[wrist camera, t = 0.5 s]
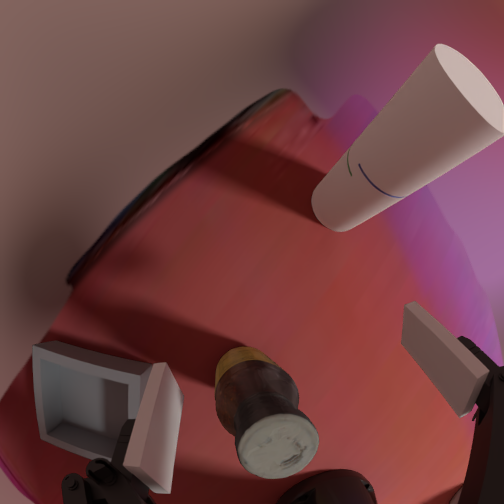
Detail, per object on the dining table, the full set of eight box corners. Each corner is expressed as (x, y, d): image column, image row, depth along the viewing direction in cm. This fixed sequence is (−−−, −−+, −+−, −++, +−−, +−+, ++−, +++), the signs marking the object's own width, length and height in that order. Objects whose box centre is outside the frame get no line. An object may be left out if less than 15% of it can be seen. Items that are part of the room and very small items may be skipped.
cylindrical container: (329, 241, 34) (493, 142, 9) (301, 191, 35) (415, 40, 10) (369, 218, 35) (518, 125, 11) (343, 172, 36) (460, 47, 11)
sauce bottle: (271, 391, 30) (340, 487, 10) (218, 397, 29) (224, 508, 10) (267, 338, 31) (343, 387, 11) (212, 343, 30) (206, 407, 11)
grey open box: (150, 451, 26) (141, 473, 21) (59, 424, 25) (40, 438, 20) (152, 364, 29) (140, 375, 23) (56, 340, 27) (32, 344, 22)
